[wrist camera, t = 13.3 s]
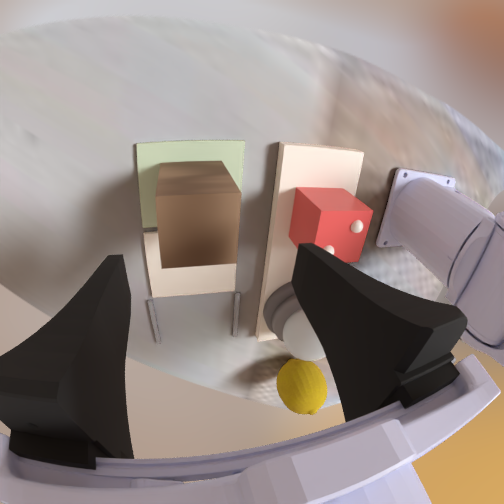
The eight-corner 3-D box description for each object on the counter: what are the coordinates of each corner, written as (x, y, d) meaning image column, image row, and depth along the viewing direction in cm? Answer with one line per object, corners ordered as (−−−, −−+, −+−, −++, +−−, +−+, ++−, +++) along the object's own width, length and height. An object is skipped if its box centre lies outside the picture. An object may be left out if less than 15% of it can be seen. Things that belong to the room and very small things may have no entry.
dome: (335, 287, 25) (361, 325, 21) (320, 329, 28) (340, 366, 24) (275, 294, 23) (296, 338, 19) (267, 339, 26) (283, 380, 22)
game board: (356, 149, 20) (371, 156, 19) (312, 325, 30) (319, 338, 29) (129, 143, 16) (124, 150, 15) (157, 344, 26) (158, 360, 25)
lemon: (267, 353, 31) (289, 413, 25) (312, 339, 32) (340, 394, 26) (269, 376, 34) (289, 429, 28) (310, 364, 35) (333, 414, 29)
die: (343, 188, 21) (377, 214, 17) (333, 234, 23) (361, 265, 19) (296, 187, 20) (324, 214, 16) (288, 236, 22) (312, 270, 18)
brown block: (221, 160, 18) (241, 192, 13) (219, 215, 20) (236, 263, 15) (160, 162, 17) (155, 196, 12) (163, 218, 19) (161, 268, 14)
